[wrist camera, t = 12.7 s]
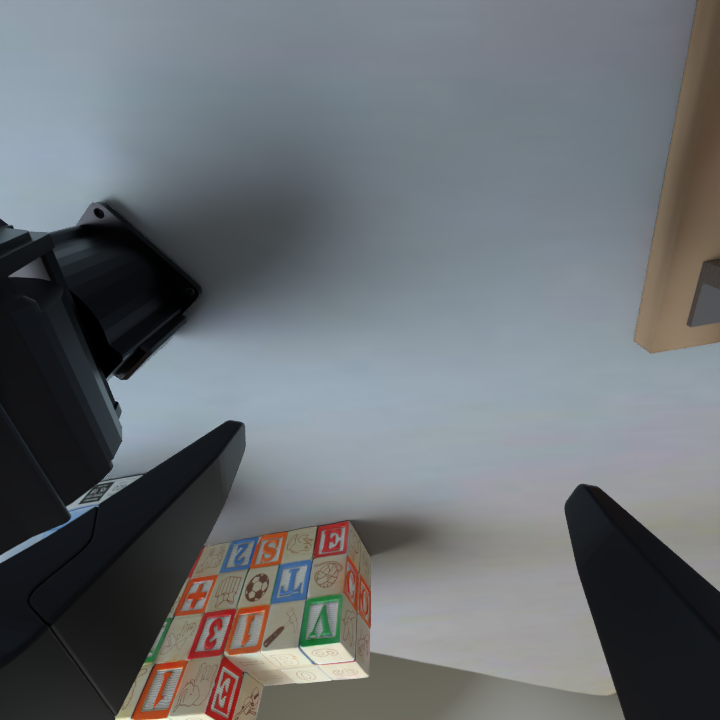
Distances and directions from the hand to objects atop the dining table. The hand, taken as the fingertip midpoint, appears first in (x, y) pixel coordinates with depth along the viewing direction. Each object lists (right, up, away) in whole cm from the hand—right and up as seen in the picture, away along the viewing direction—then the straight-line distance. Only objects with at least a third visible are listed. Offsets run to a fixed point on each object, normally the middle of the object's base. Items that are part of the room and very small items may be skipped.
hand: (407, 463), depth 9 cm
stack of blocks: (-11, -17, +25) cm, 32 cm away
